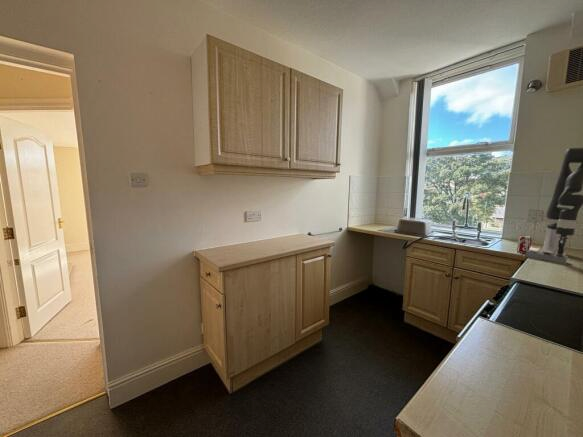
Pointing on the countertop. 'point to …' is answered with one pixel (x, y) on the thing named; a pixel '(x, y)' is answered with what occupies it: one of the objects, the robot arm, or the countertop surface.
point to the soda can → (524, 244)
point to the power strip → (547, 257)
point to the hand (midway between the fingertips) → (560, 254)
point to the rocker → (534, 249)
